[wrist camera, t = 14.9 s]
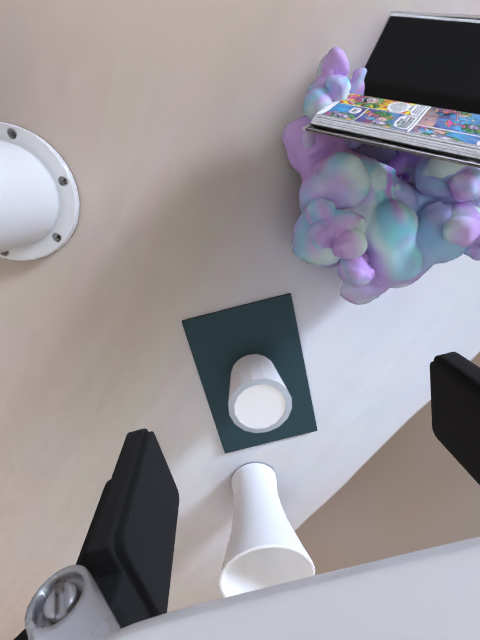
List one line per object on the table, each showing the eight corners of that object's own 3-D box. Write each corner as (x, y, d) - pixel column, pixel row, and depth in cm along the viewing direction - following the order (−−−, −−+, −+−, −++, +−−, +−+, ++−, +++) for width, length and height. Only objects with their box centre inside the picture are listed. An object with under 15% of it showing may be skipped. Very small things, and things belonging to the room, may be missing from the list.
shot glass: (290, 363, 42) (305, 395, 36) (262, 405, 44) (271, 442, 37) (243, 340, 40) (249, 368, 34) (215, 384, 42) (216, 419, 36)
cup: (304, 470, 49) (335, 567, 36) (260, 516, 52) (276, 621, 39) (245, 439, 46) (257, 532, 34) (203, 489, 49) (199, 592, 36)
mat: (224, 451, 47) (224, 453, 46) (182, 320, 39) (181, 321, 39) (316, 428, 46) (317, 430, 46) (290, 293, 39) (290, 294, 39)
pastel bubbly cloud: (303, 328, 36) (503, 361, 21) (199, 119, 27) (407, -75, 13) (402, 233, 44) (600, 207, 29) (344, 48, 35) (580, -124, 20)
